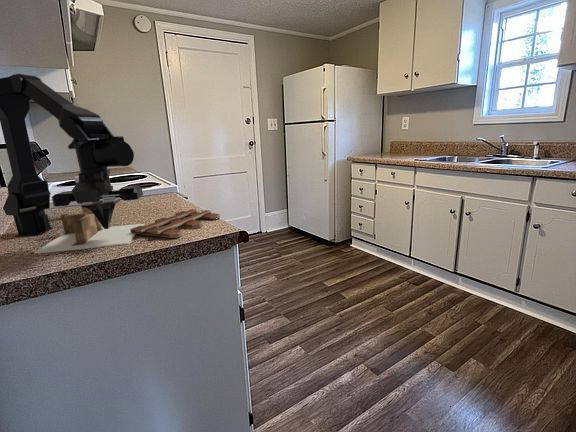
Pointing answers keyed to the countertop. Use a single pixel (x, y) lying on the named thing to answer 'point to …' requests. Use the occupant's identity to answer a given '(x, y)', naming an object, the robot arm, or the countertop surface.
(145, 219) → the countertop surface
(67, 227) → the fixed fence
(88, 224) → the gate panel
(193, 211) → the decorative fence
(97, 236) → the card
